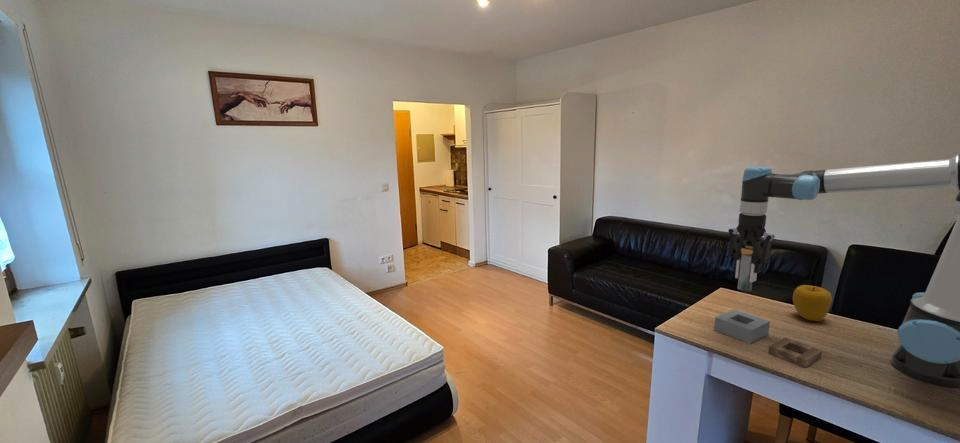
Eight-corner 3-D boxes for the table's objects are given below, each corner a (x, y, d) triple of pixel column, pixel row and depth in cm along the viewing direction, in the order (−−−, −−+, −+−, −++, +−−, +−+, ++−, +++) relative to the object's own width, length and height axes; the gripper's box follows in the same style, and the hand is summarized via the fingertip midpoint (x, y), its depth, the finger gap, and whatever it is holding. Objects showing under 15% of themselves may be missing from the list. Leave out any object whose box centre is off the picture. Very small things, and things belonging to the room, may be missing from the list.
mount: (821, 357, 120) (822, 350, 120) (805, 367, 116) (806, 360, 115) (783, 344, 129) (784, 337, 128) (768, 352, 124) (769, 345, 124)
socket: (768, 334, 135) (770, 321, 134) (749, 344, 130) (751, 330, 129) (732, 321, 146) (734, 309, 145) (714, 329, 140) (715, 317, 139)
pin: (755, 289, 134) (759, 248, 131) (747, 292, 132) (752, 250, 129) (741, 285, 138) (745, 245, 135) (733, 288, 136) (737, 247, 132)
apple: (783, 314, 149) (787, 283, 147) (804, 310, 152) (808, 279, 149) (814, 327, 139) (819, 293, 136) (836, 322, 142) (841, 289, 139)
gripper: (788, 215, 124) (779, 284, 128) (732, 208, 138) (726, 270, 143) (776, 218, 120) (767, 289, 125) (720, 211, 135) (714, 274, 140)
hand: (745, 279), depth 134 cm, fingers closed on pin, 4 cm apart
